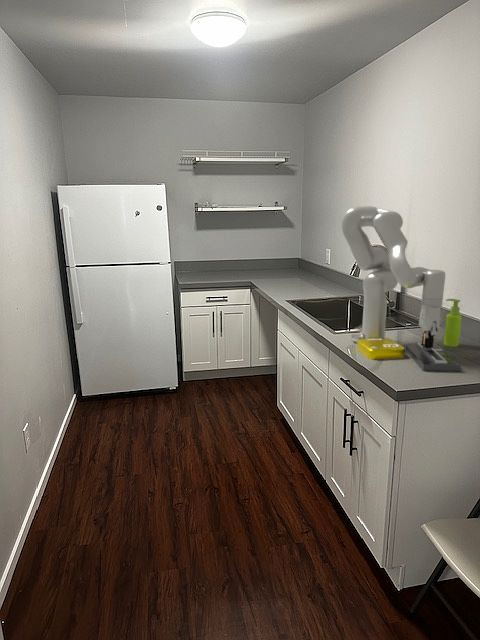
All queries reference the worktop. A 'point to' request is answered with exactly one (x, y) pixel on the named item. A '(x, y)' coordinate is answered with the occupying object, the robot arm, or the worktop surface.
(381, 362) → the worktop surface
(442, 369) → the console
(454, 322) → the soap dispenser
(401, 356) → the element tile
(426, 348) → the fader knob
